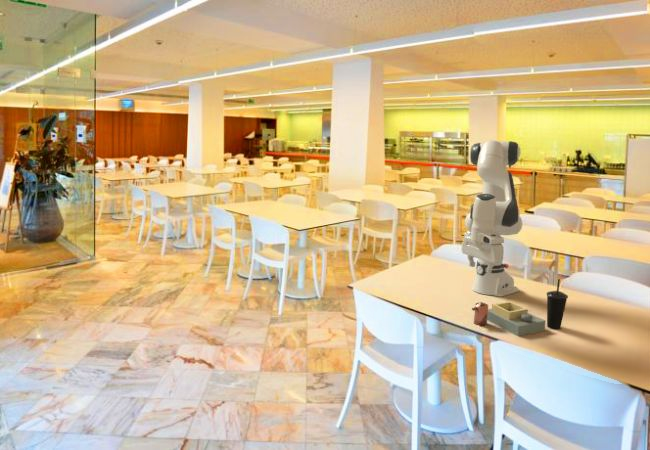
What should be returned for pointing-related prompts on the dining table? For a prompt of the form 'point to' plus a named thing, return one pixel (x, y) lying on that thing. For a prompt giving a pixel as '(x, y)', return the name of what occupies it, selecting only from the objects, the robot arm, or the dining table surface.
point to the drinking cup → (555, 307)
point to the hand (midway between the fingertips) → (479, 269)
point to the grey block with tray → (515, 318)
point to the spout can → (480, 314)
